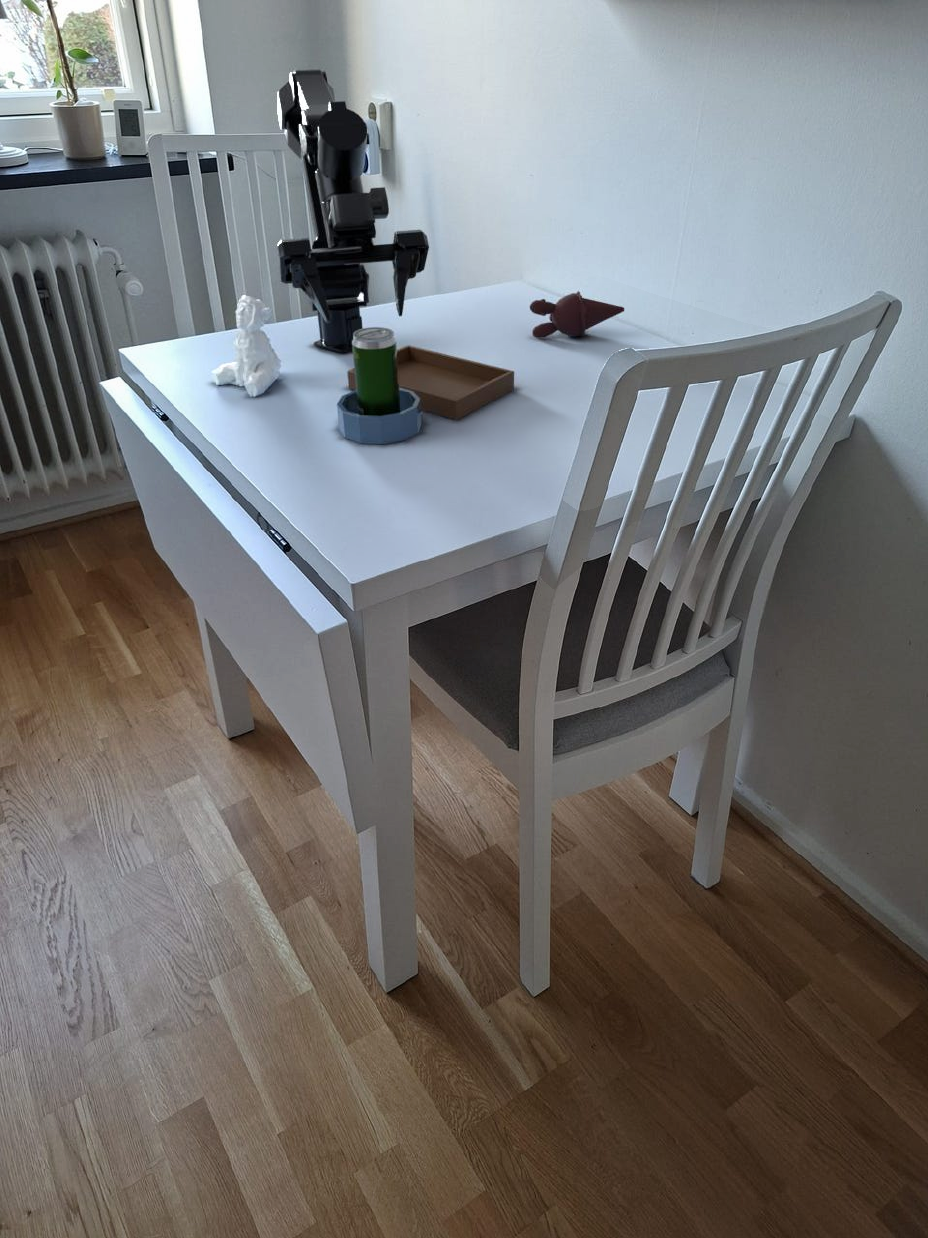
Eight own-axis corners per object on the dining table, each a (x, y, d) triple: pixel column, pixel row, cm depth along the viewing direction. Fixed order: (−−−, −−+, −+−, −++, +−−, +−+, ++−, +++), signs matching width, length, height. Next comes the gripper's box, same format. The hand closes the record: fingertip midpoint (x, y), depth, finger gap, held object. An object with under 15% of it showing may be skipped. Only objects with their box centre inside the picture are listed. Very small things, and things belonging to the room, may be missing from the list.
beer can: (372, 439, 108) (364, 343, 101) (352, 425, 112) (343, 331, 105) (409, 429, 111) (404, 334, 104) (388, 415, 114) (382, 323, 107)
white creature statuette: (210, 383, 124) (193, 298, 117) (255, 366, 130) (242, 283, 123) (254, 398, 120) (240, 309, 113) (299, 379, 125) (289, 294, 118)
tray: (348, 388, 122) (347, 370, 121) (409, 361, 131) (408, 344, 129) (456, 420, 113) (456, 401, 111) (514, 389, 121) (514, 371, 120)
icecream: (618, 285, 140) (526, 296, 140) (628, 285, 133) (531, 297, 133) (620, 330, 142) (530, 341, 142) (630, 332, 135) (535, 344, 135)
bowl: (324, 431, 110) (321, 404, 108) (377, 405, 117) (375, 380, 115) (384, 451, 105) (382, 424, 103) (436, 423, 112) (435, 397, 110)
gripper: (266, 166, 101) (288, 289, 99) (422, 157, 105) (446, 275, 103) (271, 225, 112) (290, 337, 110) (412, 215, 116) (433, 323, 114)
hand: (364, 317), depth 109 cm, fingers open, 9 cm apart
